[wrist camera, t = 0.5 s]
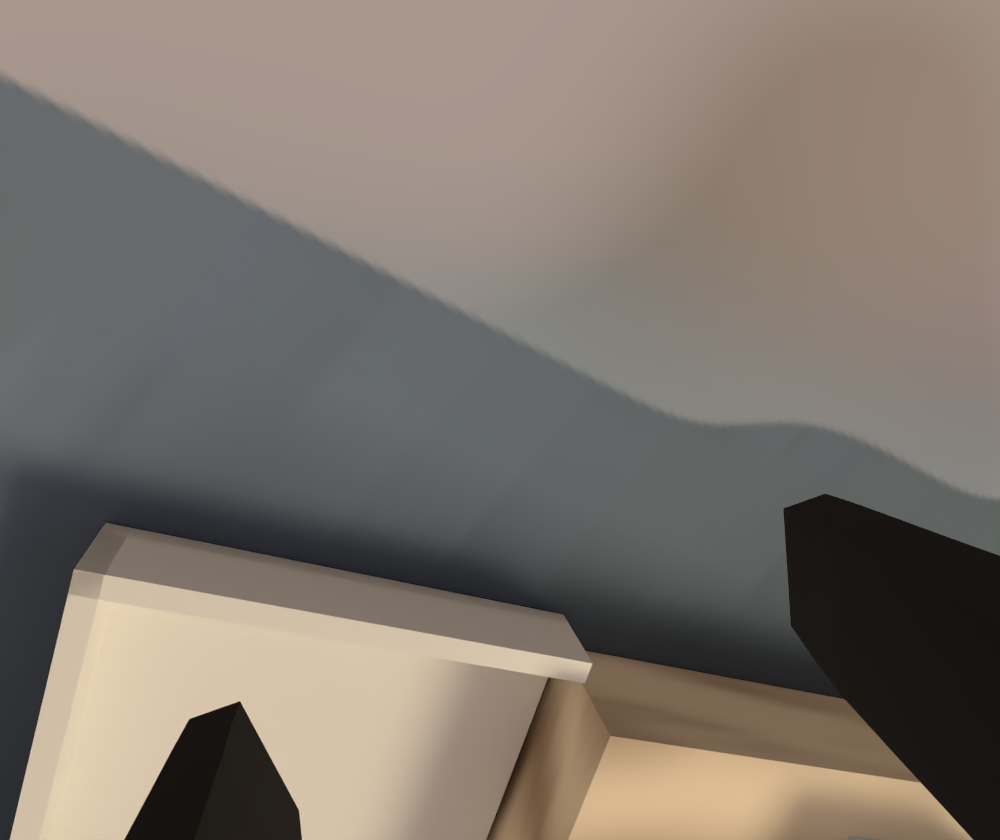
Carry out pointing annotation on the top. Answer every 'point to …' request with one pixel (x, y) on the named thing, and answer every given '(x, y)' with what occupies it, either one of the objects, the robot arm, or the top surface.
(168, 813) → the robot arm
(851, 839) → the tile
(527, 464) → the top surface
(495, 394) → the top surface
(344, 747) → the tray
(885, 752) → the board
